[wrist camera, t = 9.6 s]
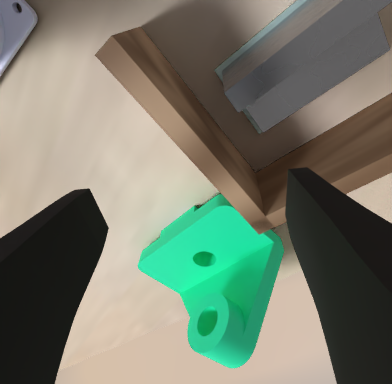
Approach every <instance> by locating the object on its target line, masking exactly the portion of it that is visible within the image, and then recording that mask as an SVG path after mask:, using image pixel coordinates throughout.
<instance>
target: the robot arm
mask: <svg viewBox="0 0 392 384" xmlns="http://www.w3.org/2000/svg"><path fill="white" fill-rule="evenodd" d="M17 3H19V4H20V6H21V8H22V12H19V10H18V9H17V6H16V5H17ZM37 21H38V20H37V15H36V13H35V11H34V10H33V9H32V8H31V7H30V5H29V4H28V3H27V2H26V1H25V0H0V76H1V75H2V73H3V72H4V70H5V69H6V67H7V66H8V65H9V63H10V62H11V60H12V59H13V57H14V56H15V54H16V53H17V51H18V50H19V49H20V47H21V46H22V44H23V43H24V41H25V40H26V38H27V37H28V35H29V34H30V32H31V31H32V30H33V28H34V27H35V25H36V24H37ZM285 217H286V221H287V225H288V230H289V234H290V238H291V241H292V244H293V247H294V249H295V252H296V255H297V257H298V260H299V262H300V265H301V268H302V270H303V273H304V276H305V278H306V281H307V283H308V286H309V288H310V291H311V294H312V296H313V299H314V302H315V305H316V308H317V311H318V314H319V318H320V321H321V325H322V329H323V332H324V336H325V339H326V343H327V347H328V351H329V355H330V359H331V362H332V366H333V370H334V374H335V378H336V381H337V384H392V223H390V222H388V221H386V220H385V219H383V218H382V217H380V216H378V215H377V214H375V213H373V212H372V211H370V210H368V209H367V208H365V207H364V206H362V205H361V204H359V203H357V202H356V201H354V200H353V199H351V198H350V197H348V196H347V195H346V194H344V193H343V192H341V191H340V190H338V189H337V188H336V187H334V186H333V185H331V184H330V183H329V182H327V181H326V180H324V179H323V178H322V177H320V176H319V175H318V174H316V173H315V172H313V171H312V170H311V169H309V168H308V167H303V168H293V169H288V176H287V192H286V208H285ZM108 229H109V228H108V226H107V224H106V221H105V219H104V217H103V215H102V213H101V211H100V209H99V207H98V205H97V203H96V201H95V199H94V197H93V195H92V193H91V191H90V189H80V190H74V191H72V192H70V193H68V194H66V195H65V196H63V197H61V198H60V199H58V200H57V201H55V202H54V203H52V204H51V205H49V206H48V207H46V208H45V209H44V210H42V211H41V212H39V213H38V214H36V215H35V216H33V217H32V218H30V219H29V220H27V221H26V222H25V223H23V224H22V225H20V226H19V227H17V228H16V229H14V230H13V231H11V232H9V233H8V234H6V235H5V236H3V237H2V238H0V384H55V380H56V376H57V372H58V369H59V366H60V362H61V359H62V355H63V352H64V348H65V345H66V342H67V339H68V336H69V332H70V329H71V326H72V323H73V320H74V317H75V315H76V312H77V310H78V307H79V305H80V302H81V300H82V298H83V295H84V293H85V291H86V289H87V286H88V284H89V282H90V279H91V277H92V275H93V273H94V270H95V268H96V266H97V263H98V261H99V258H100V256H101V254H102V251H103V248H104V244H105V241H106V237H107V233H108Z"/></svg>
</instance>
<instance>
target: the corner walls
mask: <svg viewBox="0 0 392 384" xmlns="http://www.w3.org/2000/svg"><path fill="white" fill-rule="evenodd" d="M95 56H96V57H97V58H98V59H99V60H100V61H101V62H102V64H103V65H104V66H105V67H106V68H107V69H108V70H109V71H110V72H111V73H112V74H113V76H114V77H115V78H116V79H117V80H118V81H119V82H120V83H121V84H122V85H123V86H124V88H125V89H126V90H127V91H128V92H129V93H130V94H131V95H132V96H133V97H134V99H135V100H136V101H137V102H138V103H139V104H140V105H141V106H142V107H143V108H144V109H145V111H146V112H147V113H148V114H149V115H150V116H151V117H152V118H153V119H154V120H155V122H156V123H157V124H158V125H159V126H160V127H161V128H162V129H163V130H164V131H165V132H166V134H167V135H168V136H169V137H170V138H171V139H172V140H173V141H174V142H175V143H176V144H177V146H178V147H179V148H180V149H181V150H182V151H183V152H184V153H185V154H186V155H187V157H188V158H189V159H190V160H191V161H192V162H193V163H194V164H195V165H196V166H197V167H198V169H199V170H200V171H201V172H202V173H203V174H204V175H205V176H206V177H207V178H208V179H209V181H210V182H211V183H212V184H213V185H214V186H215V187H216V188H217V189H218V190H219V192H220V193H221V194H222V195H223V196H224V197H225V198H226V199H227V200H228V201H229V202H230V204H231V205H232V206H233V207H234V208H235V209H236V210H237V211H238V212H239V213H240V214H241V216H242V217H243V218H244V219H245V220H246V221H247V222H248V223H249V224H250V225H251V227H252V228H253V229H254V230H255V231H256V232H257V233H258V234H259V235H260V234H262V233H264V232H266V231H268V230H270V229H272V228H274V227H277V226H279V225H281V224H283V223H285V222H287V221H286V217H285V208H286V192H287V176H288V169H293V168H303V167H308V168H309V169H311V170H312V171H313V172H315V173H316V174H318V175H319V176H320V177H322V178H323V179H324V180H326V181H327V182H329V183H330V184H331V185H333V186H334V187H336V188H337V189H338V190H340V191H341V192H343V193H344V194H347V193H349V192H351V191H353V190H355V189H357V188H360V187H362V186H364V185H366V184H368V183H370V182H372V181H374V180H377V179H379V178H381V177H383V176H385V175H387V174H389V173H391V172H392V93H391V94H389V95H388V96H386V97H384V98H383V99H381V100H379V101H377V102H376V103H374V104H372V105H371V106H369V107H367V108H366V109H364V110H362V111H360V112H359V113H357V114H355V115H354V116H352V117H350V118H348V119H347V120H345V121H343V122H342V123H340V124H338V125H337V126H335V127H333V128H331V129H330V130H328V131H326V132H325V133H323V134H321V135H320V136H318V137H316V138H314V139H313V140H311V141H309V142H308V143H306V144H304V145H303V146H301V147H299V148H297V149H296V150H294V151H292V152H291V153H289V154H287V155H286V156H284V157H282V158H280V159H279V160H277V161H275V162H274V163H272V164H270V165H269V166H267V167H265V168H263V169H262V170H260V171H258V172H257V173H255V172H254V171H253V169H252V168H251V167H250V166H249V164H248V163H247V162H246V161H245V159H244V158H243V157H242V155H241V154H240V153H239V152H238V150H237V149H236V148H235V147H234V145H233V144H232V143H231V141H230V140H229V139H228V138H227V136H226V135H225V134H224V132H223V131H222V130H221V129H220V127H219V126H218V125H217V124H216V122H215V121H214V120H213V118H212V117H211V116H210V115H209V113H208V112H207V111H206V110H205V108H204V107H203V106H202V104H201V103H200V102H199V101H198V99H197V98H196V97H195V95H194V94H193V93H192V92H191V90H190V89H189V88H188V87H187V85H186V84H185V83H184V81H183V80H182V79H181V78H180V76H179V75H178V74H177V73H176V71H175V70H174V69H173V67H172V66H171V65H170V64H169V62H168V61H167V60H166V58H165V57H164V56H163V55H162V53H161V52H160V51H159V50H158V48H157V47H156V46H155V44H154V43H153V42H152V41H151V39H150V38H149V37H148V36H147V34H146V33H145V32H144V30H143V29H142V28H141V27H138V28H134V29H131V30H128V31H125V32H122V33H118V34H115V35H112V36H111V37H110V38H109V39H108V41H107V42H106V43H105V44H104V45H103V46H102V48H101V49H100V50H99V51H98V52H97V53H96V54H95Z"/></svg>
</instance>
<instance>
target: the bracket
mask: <svg viewBox="0 0 392 384" xmlns="http://www.w3.org/2000/svg"><path fill="white" fill-rule="evenodd" d="M391 2H392V0H306V1H305V2H304V3H303V4H302V5H300V6H299V7H298V8H297V9H296V10H294V11H293V12H292V13H291V14H290V15H288V16H287V17H286V18H285V19H284V20H282V21H281V22H280V23H279V24H278V25H276V26H275V27H274V28H273V29H271V30H270V31H269V32H268V33H267V34H265V35H264V36H263V37H262V38H261V39H259V40H258V41H257V42H256V43H255V44H253V45H252V46H251V47H250V48H249V49H247V50H246V51H245V52H244V53H243V54H241V55H240V56H239V57H238V58H237V59H235V60H234V61H233V62H232V63H231V64H229V65H228V66H227V67H226V68H224V69H223V70H222V77H223V88H224V94H225V95H226V97H227V98H228V99H229V101H230V102H231V104H232V105H233V106H234V108H235V109H236V111H237V112H238V113H239V112H240V111H242V110H243V109H244V108H246V109H247V110H248V111H249V113H250V114H251V116H252V117H253V119H254V120H255V121H256V123H257V124H258V126H259V127H260V129H261V130H262V132H263V133H264V132H265V131H267V130H268V129H270V128H271V127H273V126H274V125H276V124H277V123H279V122H280V121H282V120H284V119H285V118H287V117H288V116H290V115H291V114H293V113H294V112H296V111H297V110H299V109H300V108H302V107H303V106H305V105H306V104H308V103H310V102H311V101H313V100H314V99H316V98H317V97H319V96H320V95H322V94H323V93H325V92H326V91H328V90H329V89H331V88H332V87H334V86H336V85H337V84H339V83H340V82H342V81H343V80H345V79H346V78H348V77H349V76H351V75H352V74H354V73H355V72H357V71H359V70H360V69H362V68H363V67H365V66H366V65H368V64H369V63H371V62H372V61H374V60H375V59H377V58H378V57H380V56H381V55H383V54H385V53H386V52H388V51H389V50H390V47H389V45H388V42H387V39H386V36H385V33H384V30H383V27H382V24H381V21H380V18H379V16H378V13H377V12H379V11H380V10H381V9H383V8H384V7H385V6H387V5H388V4H390V3H391Z"/></svg>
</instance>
